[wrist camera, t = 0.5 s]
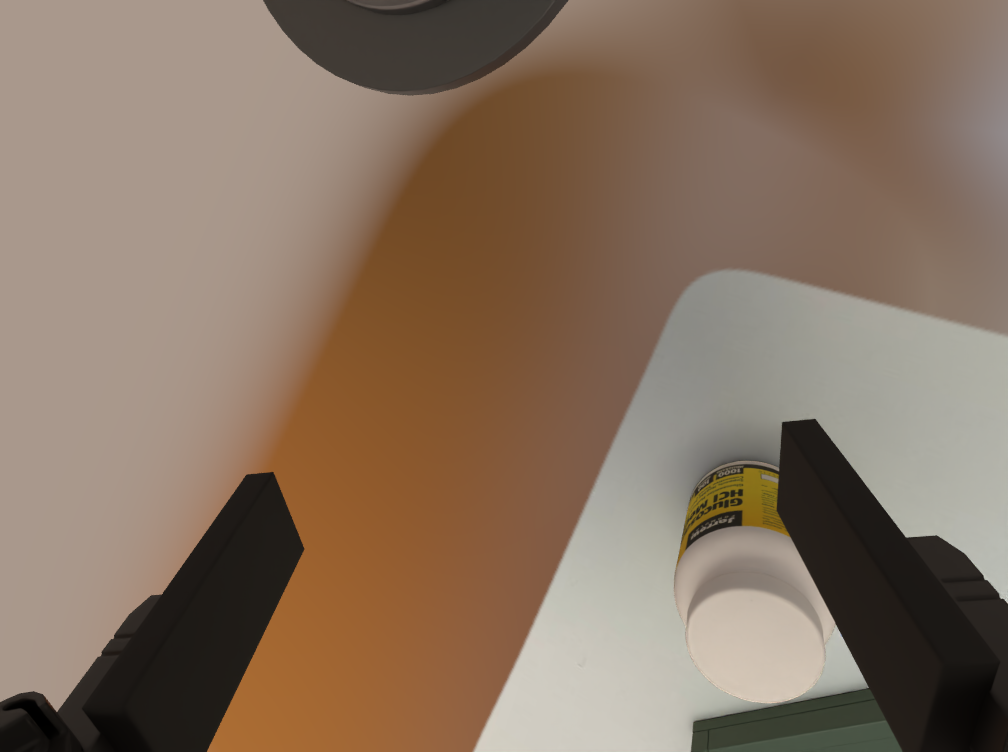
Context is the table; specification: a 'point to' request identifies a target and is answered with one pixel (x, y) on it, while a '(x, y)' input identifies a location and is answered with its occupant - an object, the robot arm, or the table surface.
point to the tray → (801, 728)
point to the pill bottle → (748, 589)
